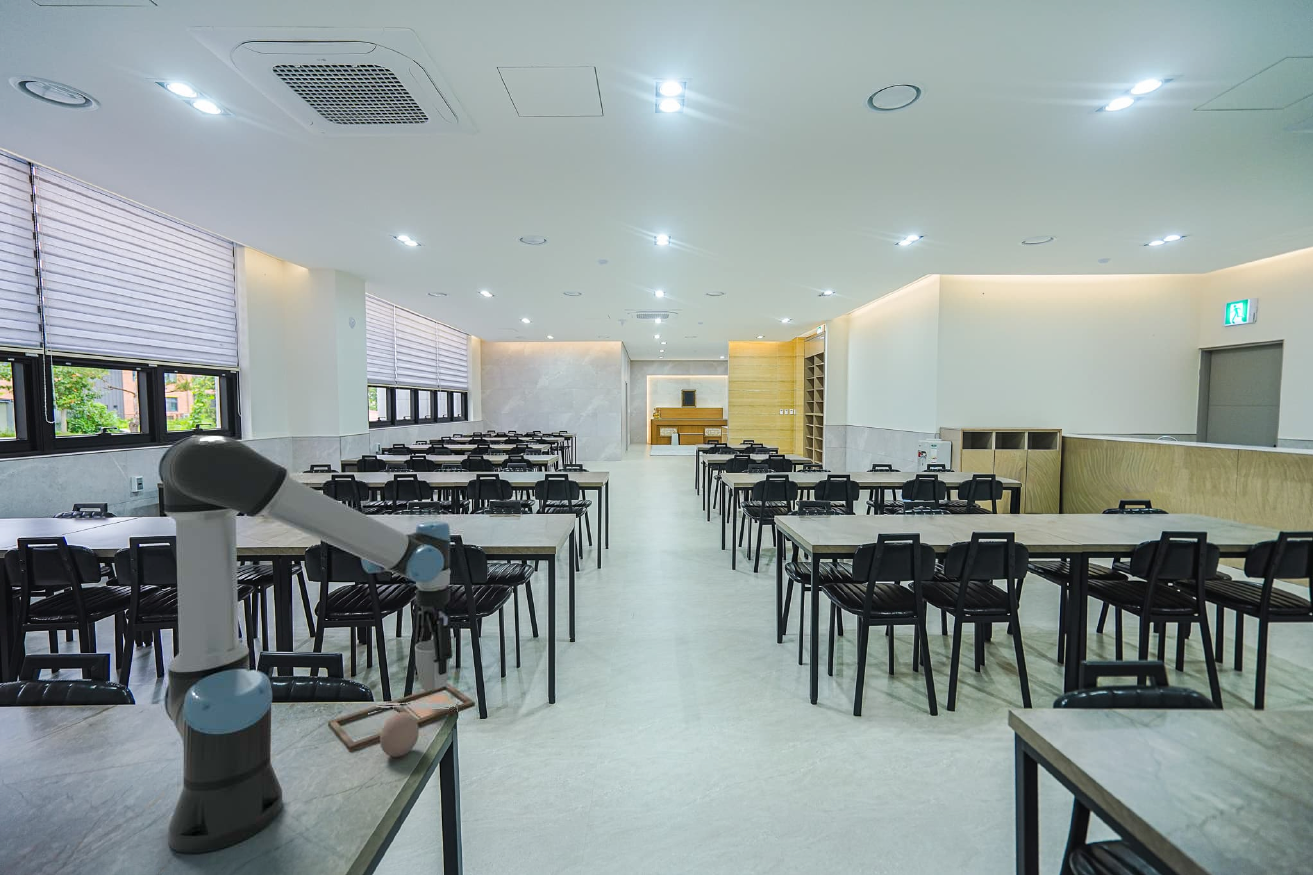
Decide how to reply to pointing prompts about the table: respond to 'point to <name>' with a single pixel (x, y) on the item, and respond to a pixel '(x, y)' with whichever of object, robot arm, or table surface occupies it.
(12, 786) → the table surface
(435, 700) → the pad
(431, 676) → the cup
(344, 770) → the table surface
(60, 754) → the table surface
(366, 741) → the brown wooden divided frame
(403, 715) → the egg
